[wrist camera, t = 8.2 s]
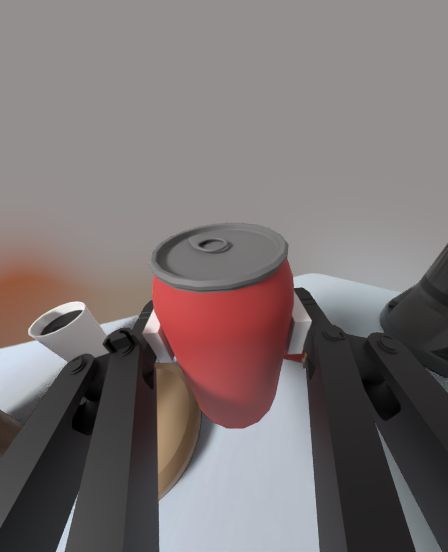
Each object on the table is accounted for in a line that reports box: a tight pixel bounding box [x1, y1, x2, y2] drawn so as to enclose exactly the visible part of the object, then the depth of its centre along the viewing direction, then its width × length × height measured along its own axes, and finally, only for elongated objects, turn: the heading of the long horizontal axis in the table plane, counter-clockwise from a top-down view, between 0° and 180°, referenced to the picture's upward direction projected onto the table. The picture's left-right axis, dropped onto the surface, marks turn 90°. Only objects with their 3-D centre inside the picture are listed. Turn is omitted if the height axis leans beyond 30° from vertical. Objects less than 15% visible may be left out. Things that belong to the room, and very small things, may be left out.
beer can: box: [149, 223, 294, 428], centre depth 10 cm, size 7×7×12 cm
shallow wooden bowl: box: [155, 362, 201, 501], centre depth 20 cm, size 13×13×3 cm
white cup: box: [29, 302, 109, 363], centre depth 27 cm, size 7×7×10 cm
